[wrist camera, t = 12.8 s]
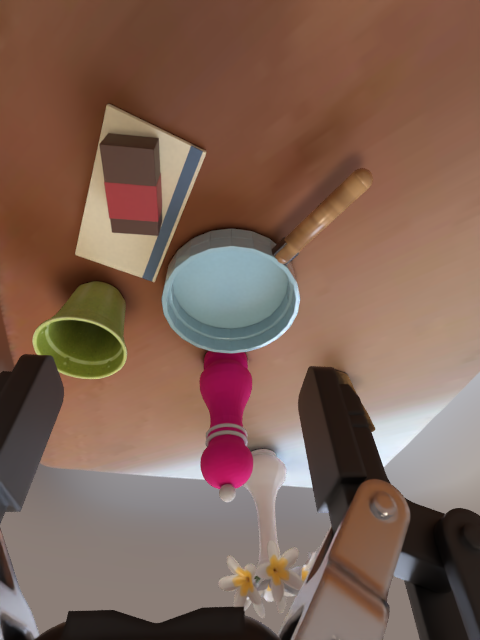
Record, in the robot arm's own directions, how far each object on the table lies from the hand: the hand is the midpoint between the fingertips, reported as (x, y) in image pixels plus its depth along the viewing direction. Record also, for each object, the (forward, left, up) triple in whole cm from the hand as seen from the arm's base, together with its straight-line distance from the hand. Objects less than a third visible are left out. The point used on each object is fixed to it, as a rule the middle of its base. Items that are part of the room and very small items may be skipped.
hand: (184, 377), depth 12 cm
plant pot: (+23, -5, -28) cm, 37 cm away
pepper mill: (+27, +14, -28) cm, 42 cm away
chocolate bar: (+7, -4, -28) cm, 29 cm away
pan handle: (+2, +12, -26) cm, 29 cm away
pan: (+15, +9, -28) cm, 33 cm away
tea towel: (+10, -4, -28) cm, 30 cm away
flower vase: (+50, +33, -28) cm, 66 cm away
